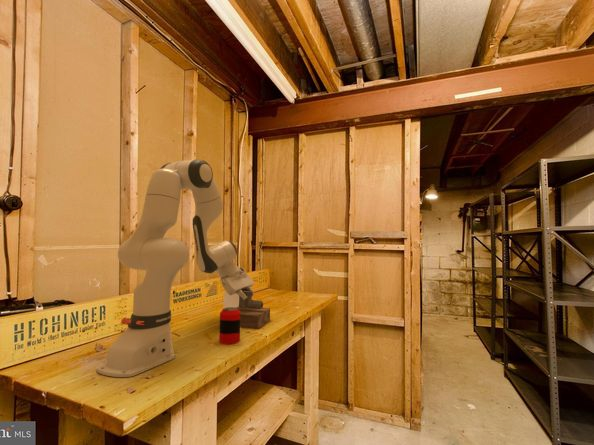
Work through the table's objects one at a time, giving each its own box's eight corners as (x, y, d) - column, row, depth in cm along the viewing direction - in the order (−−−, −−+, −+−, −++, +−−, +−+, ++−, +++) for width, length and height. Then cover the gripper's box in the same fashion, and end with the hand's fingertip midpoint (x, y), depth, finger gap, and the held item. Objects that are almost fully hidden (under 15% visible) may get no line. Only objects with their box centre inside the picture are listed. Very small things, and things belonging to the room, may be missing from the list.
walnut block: (257, 330, 124) (258, 315, 125) (224, 326, 129) (224, 313, 129) (269, 321, 138) (270, 308, 138) (239, 318, 142) (239, 305, 142)
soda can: (215, 342, 109) (215, 309, 109) (229, 336, 115) (229, 305, 116) (230, 346, 105) (230, 312, 106) (243, 339, 112) (244, 308, 112)
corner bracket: (242, 308, 160) (243, 286, 160) (222, 308, 159) (222, 286, 160) (245, 304, 170) (245, 283, 171) (225, 304, 170) (226, 283, 170)
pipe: (259, 312, 129) (261, 294, 129) (233, 307, 132) (235, 289, 133) (264, 309, 135) (266, 291, 135) (239, 304, 138) (241, 287, 138)
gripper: (223, 272, 127) (243, 296, 123) (245, 268, 146) (263, 288, 143) (214, 282, 128) (233, 306, 124) (237, 276, 147) (254, 297, 144)
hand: (249, 297), depth 134 cm, fingers closed on pipe, 5 cm apart
